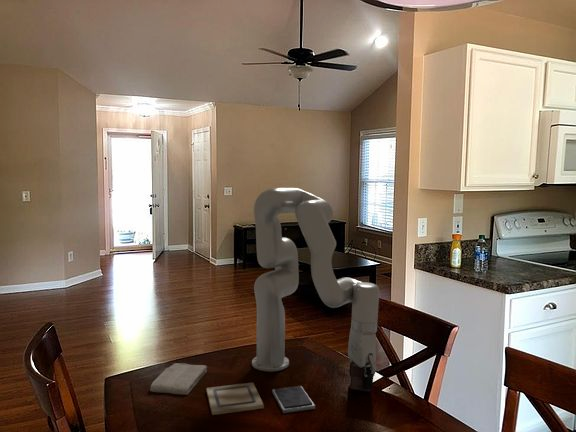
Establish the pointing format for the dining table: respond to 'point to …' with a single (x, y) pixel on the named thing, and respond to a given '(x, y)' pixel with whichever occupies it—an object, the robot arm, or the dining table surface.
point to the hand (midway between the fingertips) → (360, 381)
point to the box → (357, 376)
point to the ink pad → (293, 399)
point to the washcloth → (178, 378)
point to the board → (233, 398)
